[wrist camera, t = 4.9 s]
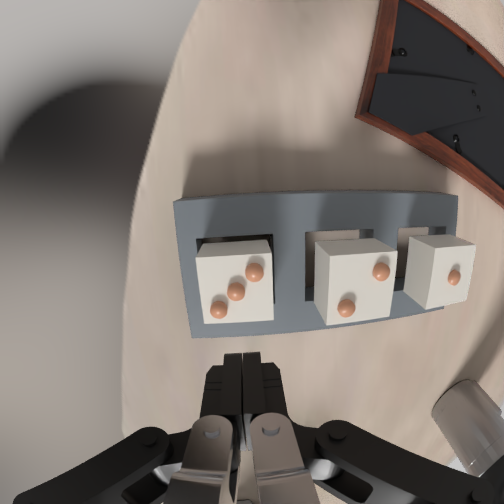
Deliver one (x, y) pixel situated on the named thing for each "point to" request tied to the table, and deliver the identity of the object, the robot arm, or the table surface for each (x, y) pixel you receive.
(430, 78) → the picture frame
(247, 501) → the tall grey labeled box
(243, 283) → the tile three
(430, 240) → the tile one
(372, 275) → the tile two
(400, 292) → the board
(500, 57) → the table surface
